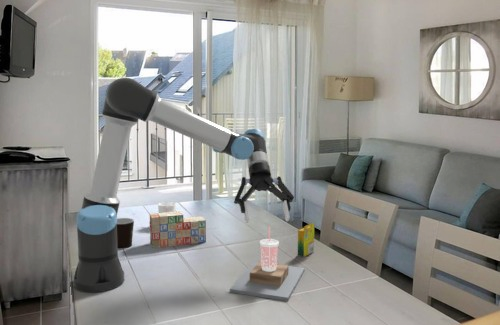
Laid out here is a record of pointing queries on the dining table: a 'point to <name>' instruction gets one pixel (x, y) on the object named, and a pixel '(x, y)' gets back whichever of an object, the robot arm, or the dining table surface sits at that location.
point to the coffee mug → (124, 232)
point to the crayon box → (306, 240)
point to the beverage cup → (269, 253)
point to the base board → (267, 290)
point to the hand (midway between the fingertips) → (267, 220)
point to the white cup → (166, 207)
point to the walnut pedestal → (269, 275)
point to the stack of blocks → (176, 229)
